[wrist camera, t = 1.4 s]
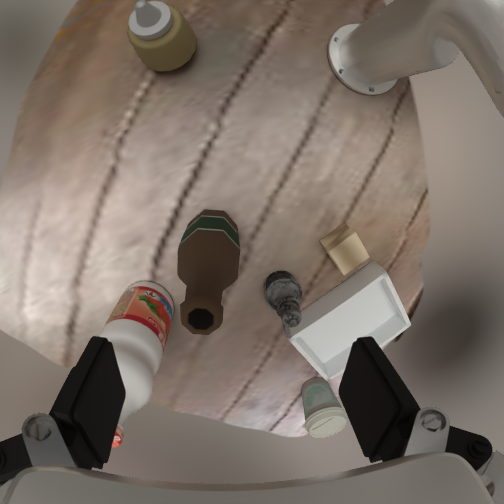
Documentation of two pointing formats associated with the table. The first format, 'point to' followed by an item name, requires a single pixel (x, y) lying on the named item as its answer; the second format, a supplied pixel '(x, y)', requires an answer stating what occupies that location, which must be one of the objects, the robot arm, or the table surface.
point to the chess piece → (284, 297)
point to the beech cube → (344, 248)
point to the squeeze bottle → (161, 35)
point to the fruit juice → (138, 343)
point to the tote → (349, 320)
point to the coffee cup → (321, 409)
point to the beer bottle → (207, 269)
